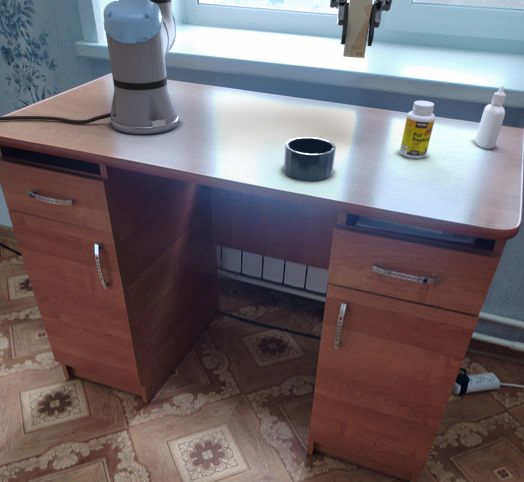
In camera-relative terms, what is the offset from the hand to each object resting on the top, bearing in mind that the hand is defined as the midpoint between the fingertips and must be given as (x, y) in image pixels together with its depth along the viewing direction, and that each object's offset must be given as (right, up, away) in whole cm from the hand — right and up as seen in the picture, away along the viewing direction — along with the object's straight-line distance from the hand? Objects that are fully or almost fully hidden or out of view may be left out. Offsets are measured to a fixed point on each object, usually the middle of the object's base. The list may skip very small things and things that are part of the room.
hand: (357, 40), depth 97 cm
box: (0, 0, +5) cm, 5 cm away
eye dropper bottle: (+32, -14, +16) cm, 38 cm away
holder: (-9, -25, +2) cm, 26 cm away
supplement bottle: (+14, -18, +11) cm, 25 cm away
